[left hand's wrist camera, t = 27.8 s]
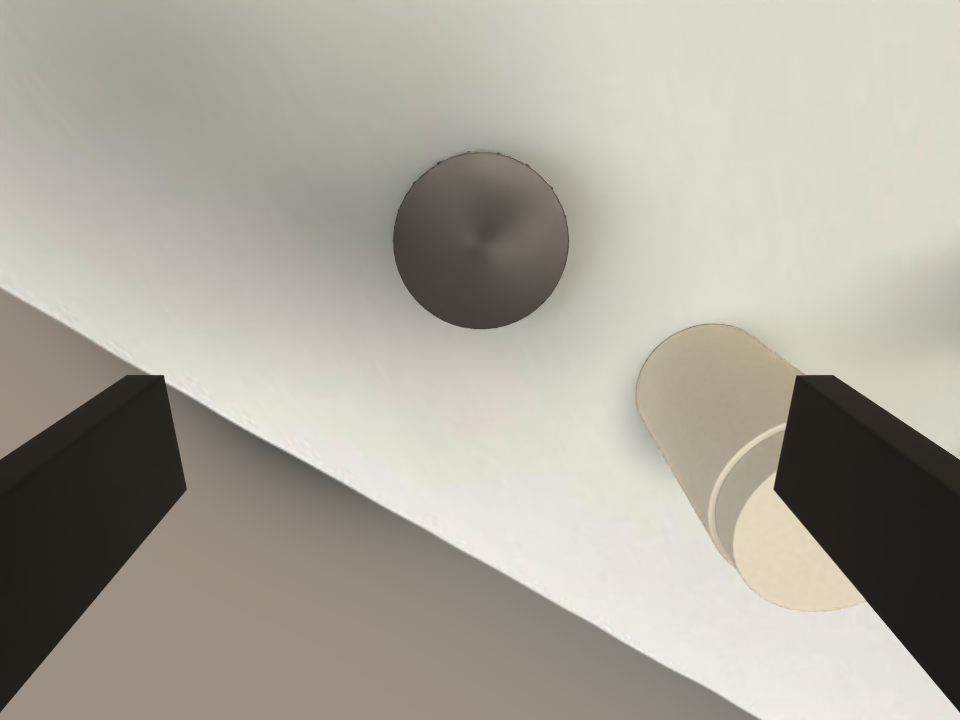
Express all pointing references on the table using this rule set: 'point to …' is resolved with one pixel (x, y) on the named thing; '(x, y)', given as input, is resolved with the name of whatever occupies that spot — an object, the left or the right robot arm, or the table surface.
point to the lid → (481, 240)
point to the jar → (737, 459)
